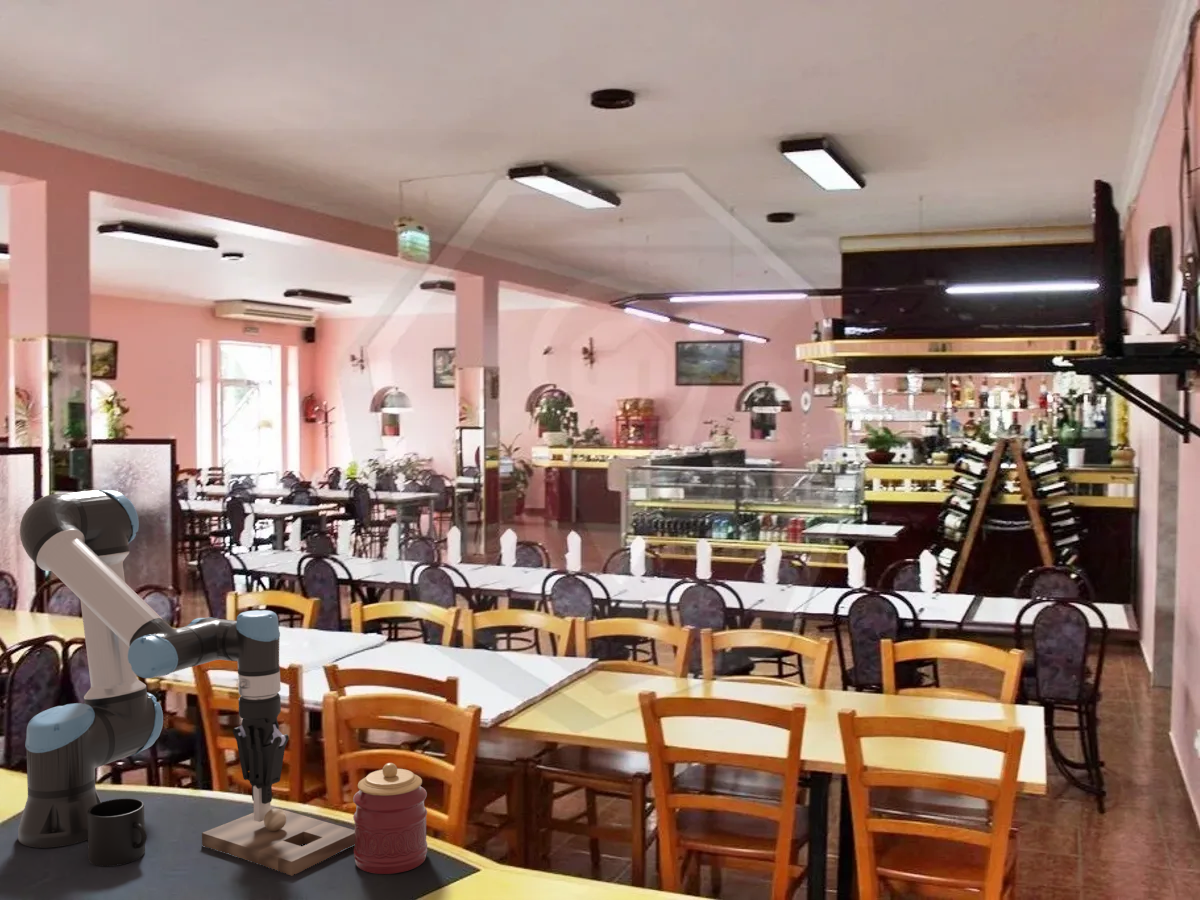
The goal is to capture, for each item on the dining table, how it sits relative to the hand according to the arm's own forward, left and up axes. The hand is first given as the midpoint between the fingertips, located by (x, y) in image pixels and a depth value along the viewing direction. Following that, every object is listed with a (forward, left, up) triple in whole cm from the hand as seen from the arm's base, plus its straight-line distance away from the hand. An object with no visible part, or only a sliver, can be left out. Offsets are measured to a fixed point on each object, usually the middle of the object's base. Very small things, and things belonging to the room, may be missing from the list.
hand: (262, 818), depth 207 cm
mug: (-15, -19, -4) cm, 25 cm away
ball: (+4, 0, 0) cm, 4 cm away
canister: (+27, +6, -4) cm, 28 cm away
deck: (+5, 0, -4) cm, 6 cm away
